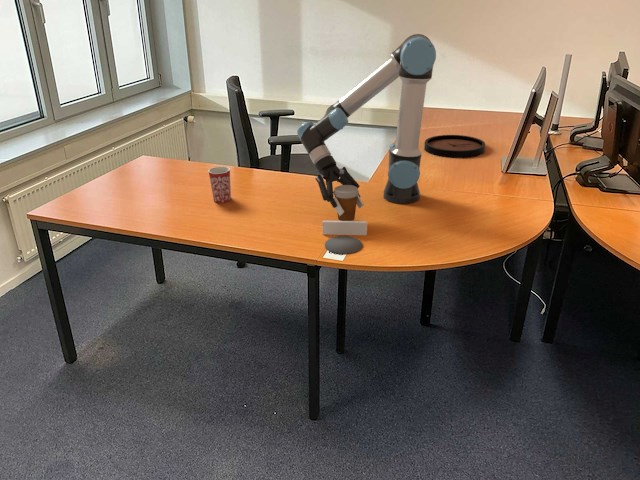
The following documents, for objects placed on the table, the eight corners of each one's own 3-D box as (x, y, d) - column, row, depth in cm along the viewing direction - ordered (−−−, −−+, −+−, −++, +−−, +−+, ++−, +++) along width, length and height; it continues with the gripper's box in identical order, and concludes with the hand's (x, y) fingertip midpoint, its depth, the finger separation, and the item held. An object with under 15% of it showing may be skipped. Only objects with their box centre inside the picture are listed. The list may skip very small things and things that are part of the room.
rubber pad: (362, 237, 189) (362, 236, 189) (361, 254, 178) (361, 253, 177) (326, 236, 190) (326, 235, 190) (323, 253, 179) (323, 252, 179)
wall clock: (418, 147, 274) (432, 132, 300) (417, 155, 276) (431, 139, 301) (480, 153, 262) (489, 137, 288) (479, 161, 264) (488, 144, 290)
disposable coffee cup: (357, 224, 196) (357, 194, 191) (331, 222, 198) (331, 192, 193) (360, 214, 205) (360, 184, 199) (336, 212, 206) (335, 183, 201)
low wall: (366, 233, 192) (367, 221, 190) (366, 235, 191) (367, 222, 188) (323, 233, 193) (322, 220, 191) (322, 234, 192) (322, 221, 190)
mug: (233, 202, 222) (230, 172, 216) (212, 205, 220) (208, 174, 214) (232, 192, 233) (229, 162, 227) (211, 194, 231) (207, 164, 225)
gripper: (340, 158, 210) (367, 206, 206) (296, 171, 198) (324, 223, 194) (349, 148, 204) (377, 197, 200) (304, 161, 192) (334, 213, 188)
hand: (351, 210), depth 197 cm, fingers closed on disposable coffee cup, 9 cm apart
